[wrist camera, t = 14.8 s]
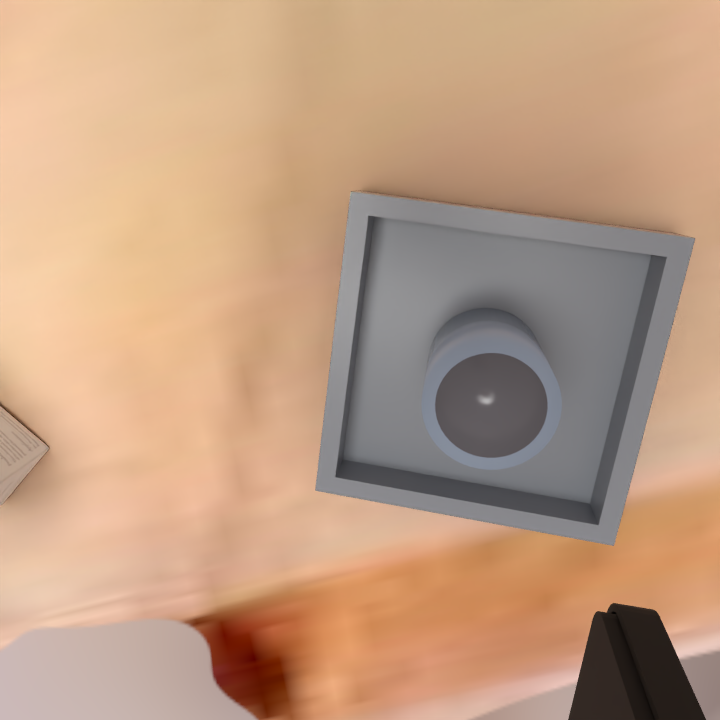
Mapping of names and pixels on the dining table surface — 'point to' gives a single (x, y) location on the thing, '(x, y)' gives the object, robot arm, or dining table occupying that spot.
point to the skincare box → (16, 453)
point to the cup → (489, 391)
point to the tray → (546, 320)
